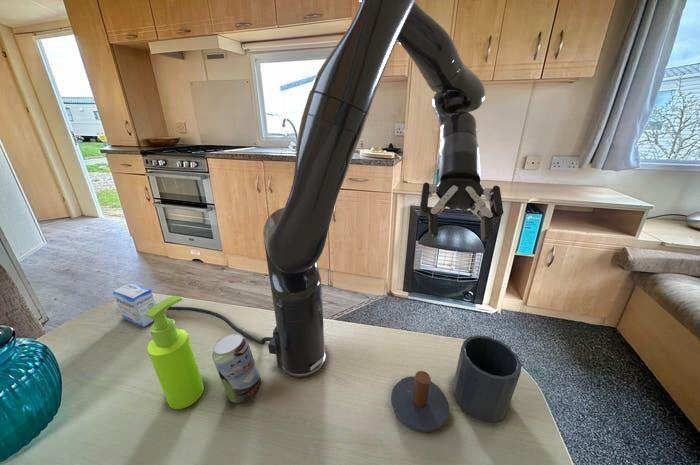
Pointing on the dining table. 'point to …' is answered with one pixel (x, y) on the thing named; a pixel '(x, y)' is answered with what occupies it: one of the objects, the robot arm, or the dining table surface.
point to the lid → (419, 403)
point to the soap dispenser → (173, 358)
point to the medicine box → (135, 303)
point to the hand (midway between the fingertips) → (459, 238)
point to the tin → (486, 378)
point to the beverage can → (236, 367)
